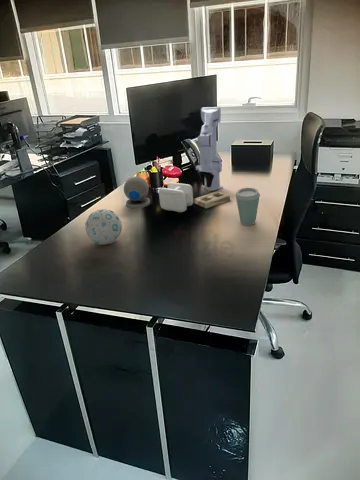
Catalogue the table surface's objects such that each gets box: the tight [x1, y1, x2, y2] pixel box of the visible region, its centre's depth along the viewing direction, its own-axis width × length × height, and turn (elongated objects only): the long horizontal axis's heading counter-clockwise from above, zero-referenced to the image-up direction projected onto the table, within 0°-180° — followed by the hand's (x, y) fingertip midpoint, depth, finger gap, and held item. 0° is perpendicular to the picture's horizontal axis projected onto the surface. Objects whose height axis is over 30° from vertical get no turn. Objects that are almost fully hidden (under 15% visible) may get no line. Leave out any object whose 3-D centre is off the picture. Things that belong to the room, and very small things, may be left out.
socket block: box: [193, 190, 231, 209], centre depth 188 cm, size 10×16×2 cm, turn 125°
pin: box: [204, 176, 211, 193], centre depth 182 cm, size 3×3×8 cm
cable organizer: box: [158, 181, 194, 213], centre depth 182 cm, size 15×11×12 cm
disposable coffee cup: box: [234, 187, 261, 226], centre depth 160 cm, size 11×11×15 cm
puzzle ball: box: [85, 208, 123, 246], centre depth 153 cm, size 15×15×15 cm
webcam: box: [123, 176, 151, 209], centre depth 190 cm, size 13×13×15 cm
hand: (207, 186), depth 183 cm, fingers closed on pin, 3 cm apart
